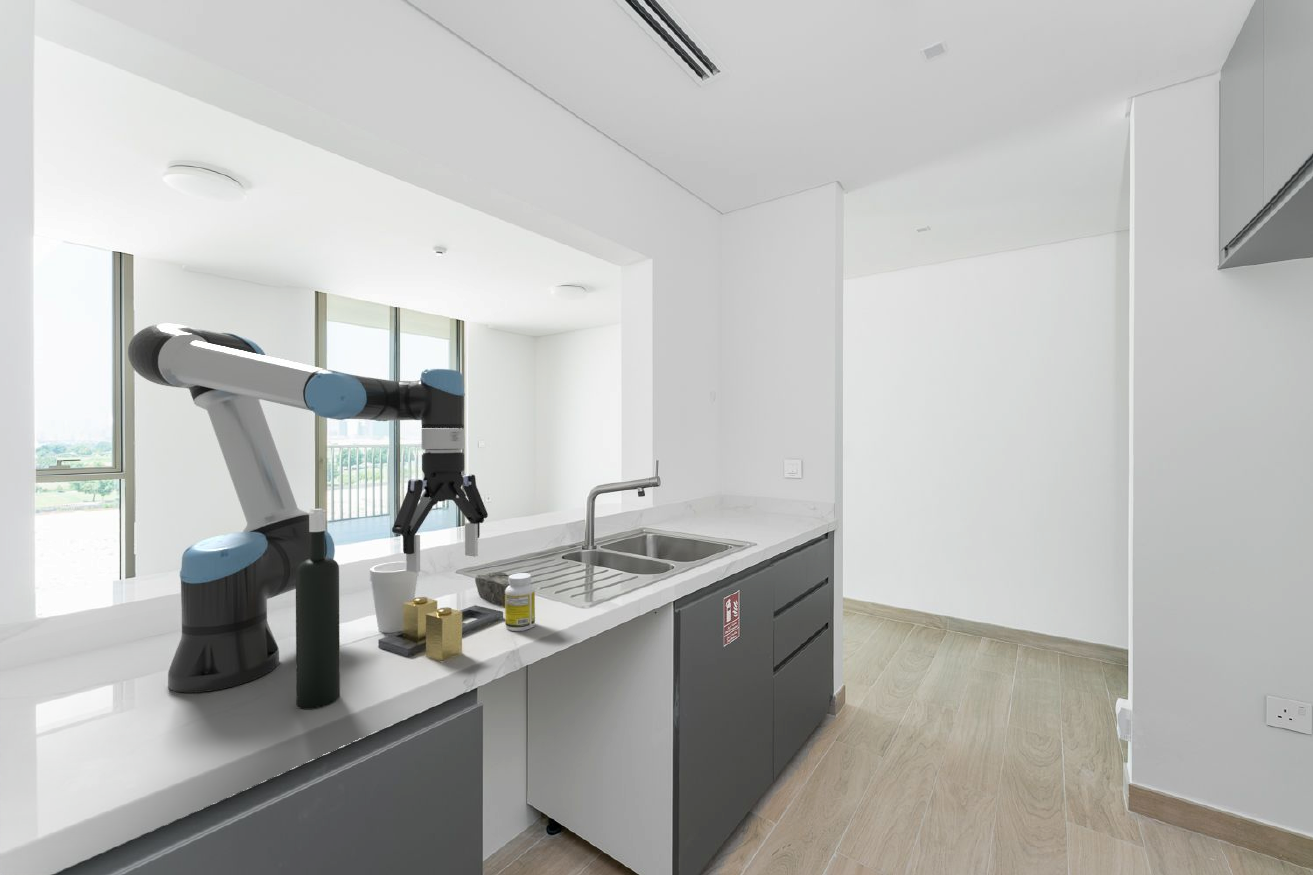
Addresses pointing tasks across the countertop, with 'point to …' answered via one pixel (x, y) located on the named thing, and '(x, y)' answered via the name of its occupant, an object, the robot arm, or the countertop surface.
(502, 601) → the stone
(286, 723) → the countertop surface
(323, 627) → the wine bottle
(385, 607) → the foam cup
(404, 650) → the dark grey slotted tray
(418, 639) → the brass block with knob
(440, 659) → the brass knobbed block
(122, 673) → the countertop surface
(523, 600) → the pill bottle
